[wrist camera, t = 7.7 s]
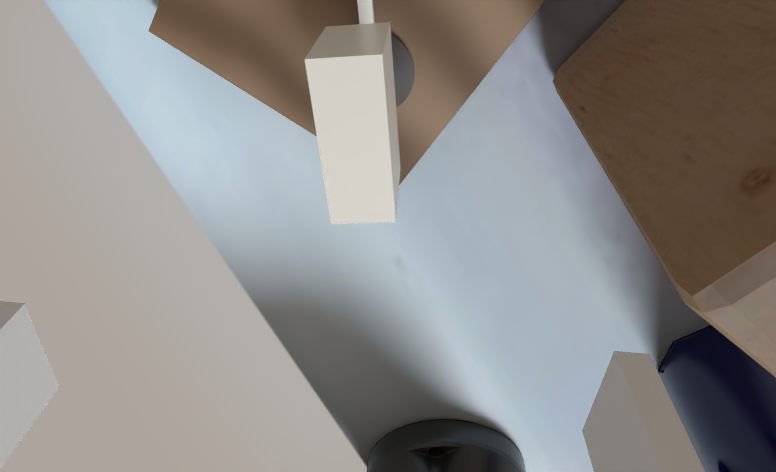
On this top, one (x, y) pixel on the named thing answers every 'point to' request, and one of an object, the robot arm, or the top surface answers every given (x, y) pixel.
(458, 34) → the board
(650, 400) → the robot arm
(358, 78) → the cream block and rod
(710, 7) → the wooden block
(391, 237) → the top surface
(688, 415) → the bottle
